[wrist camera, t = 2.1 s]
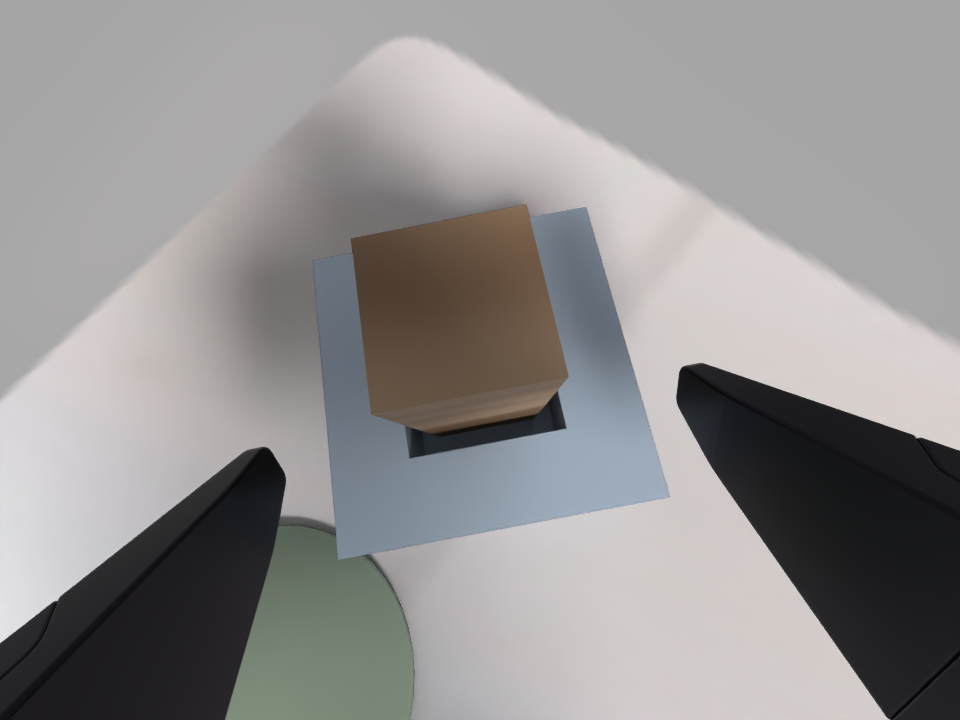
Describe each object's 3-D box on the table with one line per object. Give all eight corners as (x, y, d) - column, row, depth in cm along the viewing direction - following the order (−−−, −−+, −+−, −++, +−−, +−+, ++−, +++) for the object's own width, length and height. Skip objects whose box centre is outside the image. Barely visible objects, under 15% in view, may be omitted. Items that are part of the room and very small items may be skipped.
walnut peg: (533, 419, 16) (568, 376, 8) (440, 437, 16) (370, 414, 8) (514, 330, 17) (526, 203, 9) (426, 347, 17) (351, 238, 9)
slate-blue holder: (623, 485, 17) (670, 497, 13) (383, 531, 18) (338, 559, 13) (565, 266, 20) (585, 206, 15) (357, 307, 20) (312, 260, 15)
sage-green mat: (371, 904, 14) (367, 916, 14) (87, 808, 16) (77, 817, 15) (442, 559, 17) (441, 561, 17) (196, 499, 18) (189, 500, 18)
